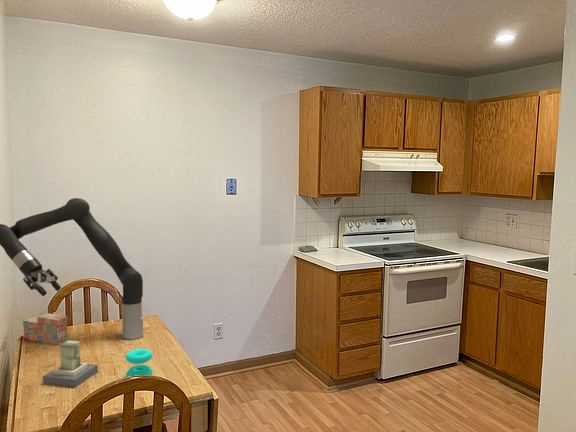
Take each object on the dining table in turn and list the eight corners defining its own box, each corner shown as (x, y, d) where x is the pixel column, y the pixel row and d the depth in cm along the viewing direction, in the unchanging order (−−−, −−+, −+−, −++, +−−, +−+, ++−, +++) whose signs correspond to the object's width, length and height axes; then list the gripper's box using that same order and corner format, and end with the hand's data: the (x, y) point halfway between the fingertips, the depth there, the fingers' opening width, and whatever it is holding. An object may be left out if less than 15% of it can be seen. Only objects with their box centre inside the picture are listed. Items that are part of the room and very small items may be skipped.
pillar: (69, 367, 190) (68, 340, 189) (80, 368, 189) (79, 341, 188) (61, 372, 185) (60, 344, 184) (72, 373, 184) (71, 345, 183)
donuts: (141, 358, 182) (120, 355, 185) (142, 383, 183) (120, 379, 186) (157, 349, 191) (136, 346, 194) (157, 373, 192) (137, 369, 195)
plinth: (67, 368, 195) (66, 358, 195) (97, 372, 193) (97, 361, 192) (43, 383, 182) (42, 372, 181) (75, 387, 179) (75, 375, 178)
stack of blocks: (23, 339, 229) (22, 314, 228) (34, 335, 235) (33, 310, 234) (57, 345, 221) (56, 319, 220) (68, 341, 227) (67, 316, 226)
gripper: (19, 260, 191) (45, 290, 190) (44, 254, 205) (69, 282, 204) (8, 272, 193) (34, 302, 192) (34, 266, 207) (58, 293, 206)
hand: (52, 292), depth 198 cm, fingers open, 8 cm apart
